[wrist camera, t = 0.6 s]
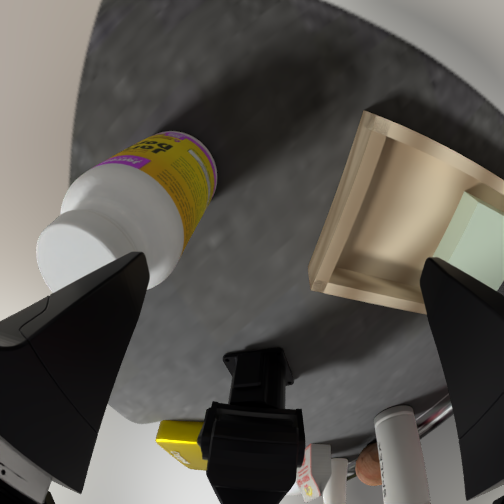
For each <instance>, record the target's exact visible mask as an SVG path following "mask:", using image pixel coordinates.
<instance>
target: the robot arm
mask: <svg viewBox="0 0 504 504" xmlns="http://www.w3.org/2000/svg"><path fill="white" fill-rule="evenodd" d="M149 280H150V273H149V269H148V264H147V260H146V256H145V254H144V253H143V252H136V251H133V252H130V253H128V254H126V255H124V256H122V257H120V258H118V259H116V260H114V261H112V262H110V263H108V264H106V265H104V266H102V267H101V268H99V269H97V270H95V271H93V272H91V273H89V274H87V275H85V276H84V277H82V278H80V279H78V280H76V281H74V282H72V283H71V284H69V285H67V286H65V287H63V288H61V289H60V290H58V291H56V292H54V293H52V294H51V295H50V296H47V297H45V298H43V299H42V300H40V301H38V302H36V303H34V304H32V305H31V306H29V307H27V308H25V309H23V310H21V311H19V312H18V313H16V314H14V315H12V316H10V317H8V318H6V319H4V320H2V321H0V504H55V502H54V500H53V497H52V495H51V493H50V492H49V491H48V489H49V486H50V484H51V481H54V482H56V483H58V484H60V485H62V486H64V487H66V488H68V489H70V490H73V491H75V492H77V493H79V494H81V493H82V490H83V486H84V483H85V479H86V475H87V471H88V467H89V464H90V460H91V457H92V453H93V449H94V446H95V443H96V439H97V436H98V434H97V433H98V432H99V429H100V425H101V422H102V419H103V416H104V412H105V410H106V406H107V404H108V401H109V398H110V395H111V392H112V389H113V386H114V383H115V380H116V377H117V374H118V372H119V369H120V366H121V363H122V361H123V358H124V355H125V353H126V350H127V347H128V345H129V342H130V339H131V337H132V334H133V332H134V329H135V327H136V324H137V321H138V319H139V315H140V312H141V309H142V305H143V301H144V298H145V294H146V291H147V287H148V284H149ZM420 288H421V292H422V296H423V300H424V304H425V308H426V313H427V317H428V321H429V325H430V328H431V331H432V334H433V337H434V341H435V344H436V347H437V350H438V354H439V357H440V361H441V364H442V368H443V371H444V375H445V379H446V383H447V387H448V391H449V395H450V399H451V403H452V408H453V413H454V417H455V422H456V427H457V432H458V438H459V439H460V440H459V445H460V452H461V459H462V466H463V474H464V484H465V495H466V500H467V501H468V500H470V499H473V498H475V497H478V496H480V495H482V494H485V493H487V492H489V491H491V490H493V489H495V488H498V487H500V486H502V485H504V296H503V295H502V294H500V293H498V292H497V291H495V290H494V289H492V288H490V287H489V286H487V285H485V284H484V283H482V282H480V281H479V280H477V279H475V278H474V277H472V276H470V275H469V274H467V273H465V272H464V271H462V270H460V269H458V268H457V267H455V266H453V265H451V264H450V263H448V262H446V261H444V260H442V259H441V258H439V257H428V258H427V259H426V260H425V263H424V267H423V270H422V273H421V277H420ZM277 352H279V353H277ZM223 362H224V363H225V365H226V367H227V368H228V370H229V372H230V373H231V375H232V383H231V389H230V396H229V402H228V404H223V403H218V402H214V401H213V402H212V406H211V408H209V409H207V410H206V415H205V420H204V424H203V426H202V428H201V431H200V433H199V436H198V438H197V444H198V445H199V446H200V448H201V452H202V459H203V460H208V463H207V470H206V475H207V477H208V479H209V481H210V483H211V486H212V487H213V490H214V492H215V494H216V496H217V497H218V499H219V501H220V503H221V504H279V503H280V501H281V500H282V499H283V497H284V496H285V495H286V494H287V492H289V490H290V489H291V488H292V486H293V485H294V483H295V481H296V473H297V468H301V466H302V464H303V460H304V455H305V433H304V424H303V416H302V409H296V410H293V409H285V386H287V385H292V384H293V383H294V379H293V376H292V373H291V371H290V368H289V365H288V362H287V360H286V357H285V354H284V351H283V349H281V348H274V349H267V350H260V351H252V352H244V353H236V354H227V355H224V356H223ZM493 504H504V496H502V497H500V498H498V499H497V500H495V501H494V502H493Z"/></svg>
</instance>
